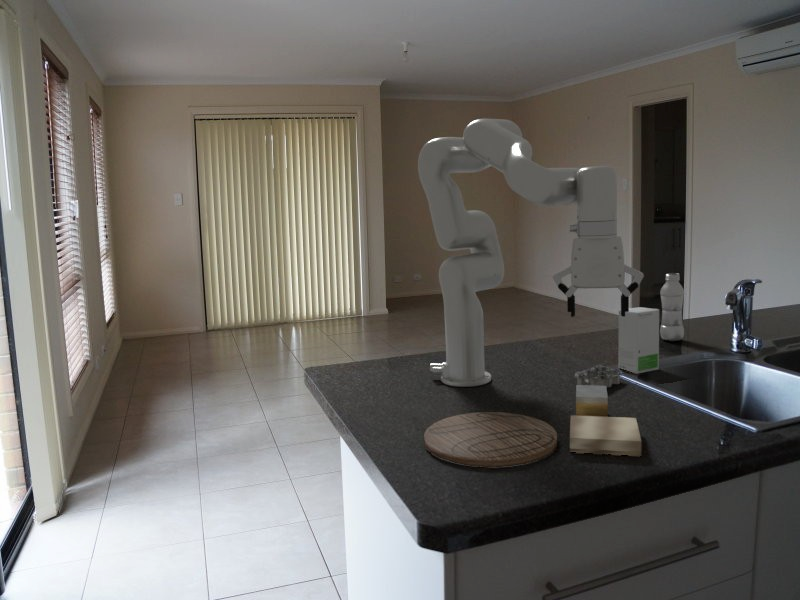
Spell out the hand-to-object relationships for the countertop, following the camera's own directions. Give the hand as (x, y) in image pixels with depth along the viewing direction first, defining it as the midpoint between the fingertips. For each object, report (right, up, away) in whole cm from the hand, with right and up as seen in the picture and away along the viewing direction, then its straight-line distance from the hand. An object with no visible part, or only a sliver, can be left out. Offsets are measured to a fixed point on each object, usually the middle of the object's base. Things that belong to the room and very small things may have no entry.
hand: (597, 315), depth 133 cm
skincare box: (+21, -15, +36) cm, 44 cm away
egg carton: (+8, -17, +26) cm, 32 cm away
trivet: (-23, -24, -7) cm, 34 cm away
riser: (-2, -23, -11) cm, 26 cm away
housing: (-1, -21, +2) cm, 21 cm away
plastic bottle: (+41, -9, +64) cm, 77 cm away
